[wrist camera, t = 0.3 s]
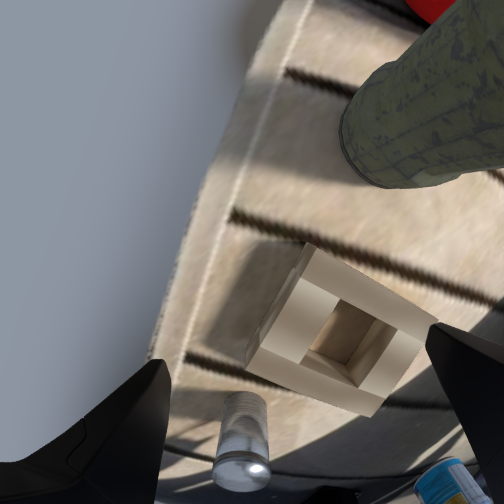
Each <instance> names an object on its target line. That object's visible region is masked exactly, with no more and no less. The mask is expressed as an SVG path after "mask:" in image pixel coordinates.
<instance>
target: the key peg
mask: <svg viewBox="0 0 504 504" xmlns="http://www.w3.org/2000/svg"><path fill="white" fill-rule="evenodd" d="M211 475H212V479H213V481H214V482H215V483H216V484H217V485H219V486H220V487H222V488H224V489H227V490H230V491H234V492H252V491H257V490H259V489H262V488H264V487H265V486H266V485H268V484H269V482H270V480H271V465H270V463H269V446H268V424H267V405H266V402H265V401H264V399H263V398H262V397H261V396H259V395H258V394H255V393H253V392H247V391H243V392H237V393H234V394H232V395H231V396H229V397H228V398H227V399H226V401H225V404H224V409H223V415H222V422H221V428H220V434H219V440H218V446H217V452H216V458H215V460H214V462H213V468H212V474H211Z"/></svg>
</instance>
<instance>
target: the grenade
mask: <svg viewBox="0 0 504 504" xmlns="http://www.w3.org/2000/svg"><path fill="white" fill-rule="evenodd" d="M339 137H340V143H341V148H342V150H343V153H344V155H345V157H346V159H347V161H348V163H349V164H350V165H351V167H352V168H353V169H354V170H355V171H356V173H357V174H358V175H359V176H360V177H362V178H363V179H365V180H366V181H368V182H369V183H371V184H372V185H375V186H378V187H382V188H385V189H397V188H399V189H411V188H422V187H431V186H437V185H440V184H443V183H445V182H448V181H451V180H454V179H457V178H458V177H459V176H460V175H461V174H464V173H470V172H477V171H485V170H492V169H500V168H504V0H456V1H455V2H454V3H453V4H452V5H451V6H450V7H449V8H448V9H447V10H446V11H445V12H444V13H443V14H442V15H441V16H440V17H439V18H438V19H437V20H436V21H435V22H434V23H433V24H432V25H431V26H430V27H429V28H428V29H427V30H426V31H425V32H424V33H423V34H422V35H421V36H420V37H419V38H418V39H417V40H416V41H415V42H414V43H413V44H412V45H411V46H410V47H409V48H408V49H407V50H406V51H405V52H404V53H403V54H402V55H401V56H400V57H399V58H398V59H397V60H396V61H392V62H388V63H385V64H384V65H382V66H381V67H380V68H378V69H377V70H375V71H374V72H373V73H372V74H371V75H370V77H369V78H368V79H367V80H366V81H365V82H364V84H363V85H362V86H361V87H360V88H359V89H358V90H357V92H356V93H355V95H354V96H353V98H352V100H351V102H350V103H349V104H348V105H347V107H346V109H345V111H344V112H343V114H342V116H341V120H340V126H339Z"/></svg>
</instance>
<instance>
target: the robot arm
mask: <svg viewBox="0 0 504 504" xmlns="http://www.w3.org/2000/svg"><path fill="white" fill-rule="evenodd" d="M425 348H426V351H427V353H428V356H429V358H430V360H431V363H432V365H433V367H434V370H435V372H436V375H437V377H438V379H439V382H440V384H441V386H442V388H443V390H444V392H445V393H446V395H447V397H448V399H449V401H450V403H451V405H452V407H453V409H454V411H455V413H456V415H457V417H458V419H459V421H460V423H461V425H462V428H463V430H464V432H465V434H466V436H467V438H468V441H469V443H470V445H471V447H472V450H473V452H474V454H475V456H476V459H477V461H478V464H479V466H480V469H481V471H482V474H483V476H484V479H485V482H486V484H487V487H488V490H489V492H490V495H491V498H492V501H493V504H504V346H502V345H500V344H497V343H494V342H492V341H489V340H487V339H484V338H481V337H479V336H476V335H473V334H471V333H468V332H465V331H463V330H460V329H458V328H455V327H452V326H450V325H447V324H444V323H442V322H438V323H434V324H432V325H430V327H429V331H428V335H427V339H426V343H425ZM170 395H171V377H170V374H169V371H168V368H167V365H166V362H165V361H164V360H163V359H152V360H150V361H149V362H148V363H147V364H145V365H144V366H143V367H142V368H141V369H140V370H139V371H137V372H136V373H135V374H134V375H133V376H131V377H130V378H129V379H128V380H127V381H126V382H124V383H123V384H122V385H121V386H120V387H118V388H117V389H116V390H115V391H114V392H113V393H111V394H110V395H109V396H108V397H107V398H106V399H104V400H103V401H102V402H101V403H100V404H98V405H97V406H96V407H95V408H94V409H93V410H91V411H90V412H89V413H88V414H86V415H85V416H84V418H82V419H80V420H79V421H78V422H77V423H75V424H74V425H73V426H72V427H70V428H69V429H68V430H67V431H65V432H64V433H63V434H61V435H60V436H58V437H57V438H56V439H54V440H53V441H51V442H50V443H48V444H47V445H45V446H43V447H42V448H40V449H39V450H38V451H36V452H34V453H33V454H31V455H30V456H28V457H26V458H24V459H22V460H20V461H16V462H0V504H154V500H155V494H156V488H157V482H158V476H159V470H160V465H161V459H162V454H163V449H164V443H165V438H166V433H167V428H168V421H169V408H170ZM361 495H362V493H361V491H355V490H347V489H341V488H334V487H328V486H325V487H322V488H321V489H320V490H319V491H318V492H316V493H315V494H314V495H313V496H312V497H310V498H309V499H308V500H307V501H305V502H304V503H303V504H358V501H357V498H358V497H359V496H361Z"/></svg>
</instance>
